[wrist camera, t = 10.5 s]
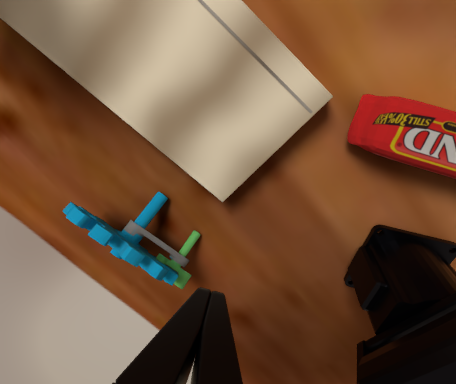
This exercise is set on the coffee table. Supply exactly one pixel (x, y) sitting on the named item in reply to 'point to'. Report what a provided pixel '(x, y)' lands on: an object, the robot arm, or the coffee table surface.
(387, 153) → the candy bar
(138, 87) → the pine board
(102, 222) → the gear
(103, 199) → the coffee table surface
